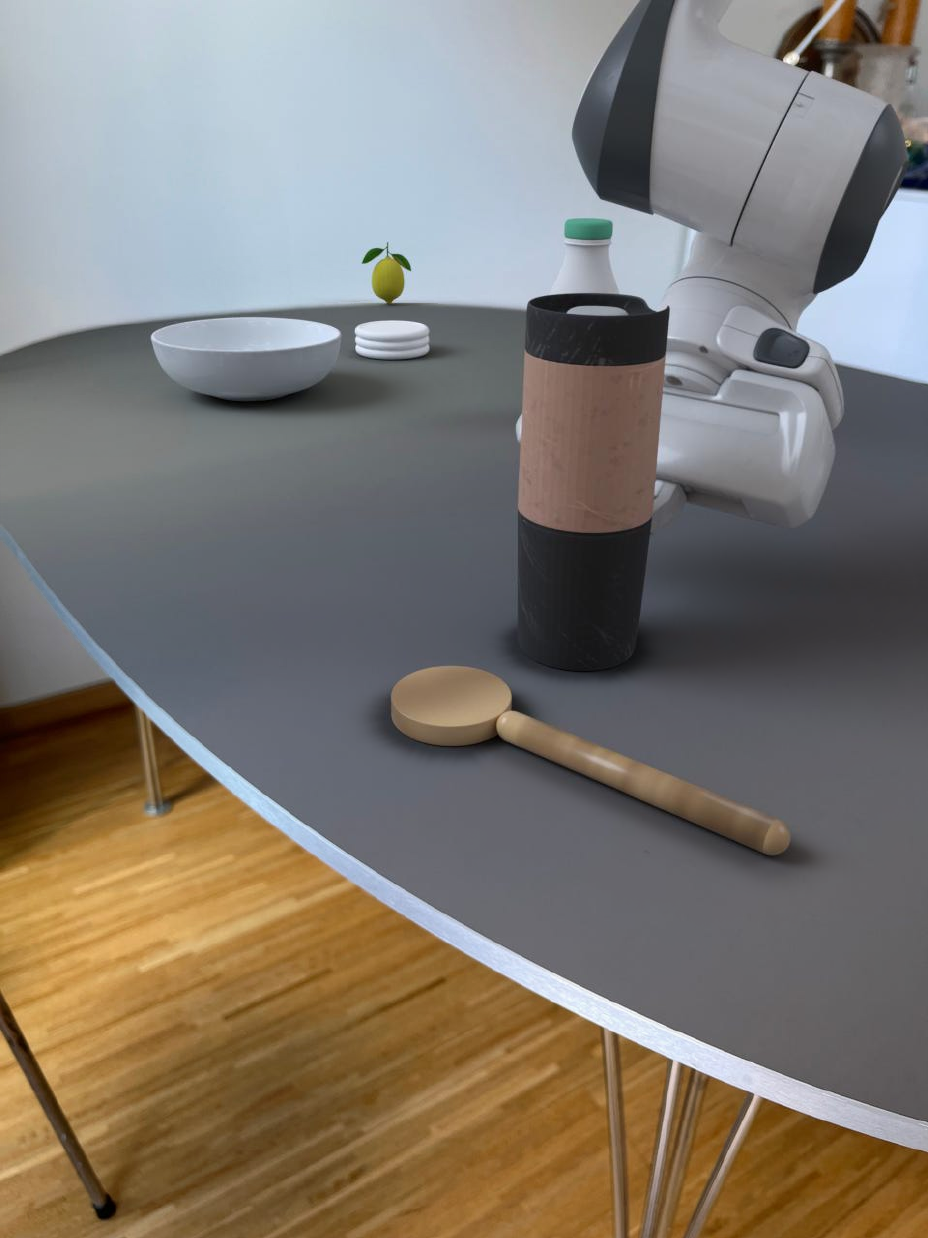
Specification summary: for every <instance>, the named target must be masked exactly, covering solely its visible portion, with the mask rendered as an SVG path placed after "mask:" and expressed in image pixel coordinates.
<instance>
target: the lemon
mask: <svg viewBox="0 0 928 1238" xmlns="http://www.w3.org/2000/svg"><path fill="white" fill-rule="evenodd" d="M385 250H386V256H385V257H384V258H382V259H380V260H379V261H378V262H377V263H376V265H374V268H373V270H372V275H371V287H372V291H373V293H374V294H375V296H376V297H377V298H379V299H381V300H383V301H384V302H385V303H386V304H387V305H391V304H392V303H393V301H395V300H396V299H398V298H399V297H401V295H402V294H403V292H404V289H405V285H406V282H405V280H406V279H405V274H404V270H403V269H405V270H407V271H408V272H412V267H411V264H410V261H409V260H408V259H407V257H405V256H404V254H402V253H401V254H400V253H391V252H390V251H389V241H387V242H386V247H384V248H380V247H374V248H371V249H369V250H368V251H367V252H365V253H366V254H365V255H364V257H363V259H362V262H361V265H365V264H368V263H370V262H372V261H374V260H375V259H376V258H378V257H379V256H380V255H381V254H382V253H383V252H384V251H385ZM389 254H390V255H389Z"/></svg>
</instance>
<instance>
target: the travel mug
mask: <svg viewBox="0 0 928 1238" xmlns="http://www.w3.org/2000/svg"><path fill="white" fill-rule="evenodd" d="M525 312H526V313H525V314H526V315H525V334H524V335H525V336H524V339H525V340H524V361H523V381H522V382H523V383H522V403H521V405H522V406H521V407H522V408H521V414H522V426H521V446H520V451H519V471H518V472H519V474H518V475H519V477H518V495H517V496H518V497H517V498H518V500H517V639H518V645H519V648H520V650H521V651H522V652H523V653H524V654H525V655H526V656H527V657H529V658H530V659H532V660H533V661H535V662H537V663H539V664H541V665H544V666H547V667H550V668H553V669H558V670H563V671H564V670H565V671H573V672H593V671H601V670H607V669H610V668H615V667H617V666H619V665H622V664H623V663H626V662H627V661H628V660H629V659H630V658H631V657H632V656H633V654H634V652H635V650H636V645H637V638H638V631H639V626H640V625H639V624H640V618H641V617H640V616H641V610H642V609H641V608H642V600H643V593H644V585H645V579H646V570H647V563H648V561H647V560H648V554H649V548H650V547H649V545H650V538H651V535H650V531H651V523H652V514H653V504H654V492H655V480H656V468H657V456H658V444H659V432H660V420H661V408H662V396H663V384H664V372H665V360H666V348H667V337H668V325H669V315H670V307H669V306H667V308H666V309H664V310H662V311H658V312H657V311H656V310H654V309H652V308H650V306H649V305H648V304H647V302H646V300H645V299H644V298H642V297H639V296H636V295H632V294H631V295H630V294H622V293H619V294H609V293H566V294H554V295H549V294H547V295H541V296H537V297H534V298H531V299H530V300H529V301H528V302H527V304H526V311H525Z"/></svg>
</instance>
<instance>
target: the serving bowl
mask: <svg viewBox="0 0 928 1238" xmlns="http://www.w3.org/2000/svg"><path fill="white" fill-rule="evenodd" d="M342 336H343V335H342V333H341V331H340V330H339V329H338V328H336V327H335V326H332V325H330V324H326V323H321V322H317V321H311V320H305V319H297V318H285V317H266V316H265V317H264V316H263V317H260V316H245V317H223V318H208V319H207V318H206V319H198V320H192V321H191V320H190V321H185V322H179V323H174V324H171V325H167V326H165V327H164V326H163V327H162V328H159V329H157V330H155V331H153V333H152V334H151V335H150V341H151V345H152V348H153V352H154V354H155V357H156V359H157V361H158V363H159V365H160V367H161V368H162V370H163V371H164V372H165V373H166V374H167V375H168V376H169V378H171V379H172V380H173V381H174V382H175V383H177V384H178V385H180V386H182V387H184V388H186V389H188V390H190V391H193V392H196V393H199V394H203V395H207V396H211V397H215V398H218V399H222V400H226V401H234V402H260V401H270V400H275V399H280V398H283V397H285V396H288V395H290V394H295V393H298V392H300V391H303V390H307V389H309V388H311V387H313V386H315V385H317V384H318V383H320V381H322V380H324V379H325V378H326V377H327V376H328V375H329V374H330V372H331V371H332V370H333V368H334V367H335V365H336V362H337V360H338V358H339V354H340V350H341V343H342V338H343V337H342Z"/></svg>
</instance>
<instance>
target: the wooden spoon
mask: <svg viewBox="0 0 928 1238" xmlns="http://www.w3.org/2000/svg"><path fill="white" fill-rule="evenodd" d="M512 703H513V695H512V691H511V689H510V687H509V685H508V684H507V683H506V681H504V680H503V679H501V678H500V677H499V676H497V675H496V674H493V673H491V672H489V671H486V670H483V669H480V668H477V667H476V668H475V667H470V666H462V665H440V666H432V667H426V668H423V669H420V670H417V671H414V672H412V673H409V674H408V675H406V676H404V677H402V678H401V679H400V680H399V681H397V683H395V684H394V686H393V688H392V689H391V693H390V704H391V705H390V707H391V709H390V711H391V712H390V714H391V720H392V722H393V725H394V726H395V727H396V728H397V730H398V731H399V732H401V733H402V734H404V735H405V736H406V737H409V738H410V739H412V740H415V741H418V742H421V743H424V744H429V745H433V746H440V747H441V746H442V747H461V746H462V747H463V746H470V745H476V744H479V743H482V742H486V741H488V740H490V739H493V738H495V737H497V735H498V737H500V738H501V739H502V740H503V741H504V742H507V743H509V744H512V745H514V746H516V747H518V748H520V749H523V750H526V751H528V752H530V753H532V754H534V755H537V756H539V757H541V758H544V759H547V760H548V761H551V762H553V763H556V764H558V765H560V766H562V767H564V768H567V769H569V770H571V771H573V772H576V773H578V774H581V775H583V776H585V777H588V778H589V779H592V780H595V781H597V782H599V783H601V784H604V785H605V786H608V787H611V788H613V789H615V790H617V791H619V792H622V793H624V794H627V795H628V796H631V797H634V798H635V799H638V800H640V801H642V802H645V803H647V804H649V805H652V806H654V807H656V808H658V809H661V810H663V811H666V812H668V813H670V814H672V815H674V816H677V817H679V818H680V819H681V818H682V819H684V820H685V821H688V822H691V823H693V824H695V825H698V826H700V827H702V828H704V829H707V830H709V831H711V832H713V833H716V834H717V835H720V836H723V837H725V838H727V839H730V840H732V841H734V842H737V843H739V844H741V845H744V846H746V847H748V848H749V849H753V850H754V851H757V852H759V853H761V854H764V855H767V856H777V855H781V854H782V853H784V852H785V851H786V850H787V849H788V847H789V846H790V843H791V839H792V838H791V832H790V828H789V827H788V825H786V824H785V823H784V822H783V821H782V820H780V819H778V818H776V817H774V816H771V815H769V814H766V813H764V812H761V811H759V810H757V809H755V808H752V807H750V806H747V805H745V804H742V803H740V802H737V801H735V800H733V799H730V798H728V797H725V796H724V795H720V794H718V793H715V792H713V791H711V790H708V789H706V788H703V787H701V786H699V785H696V784H694V783H692V782H689V781H686V780H684V779H682V778H679V777H677V776H675V775H672V774H669V773H667V772H665V771H662V770H660V769H657V768H655V767H653V766H650V765H649V764H645V763H643V762H640V761H638V760H636V759H633V758H631V757H628V756H627V755H624V754H621V753H619V752H616V751H614V750H612V749H609V748H606V747H604V746H602V745H600V744H597V743H595V742H592V741H590V740H587V739H584V738H582V737H581V736H577V735H575V734H573V733H570V732H567V731H565V730H562V729H560V728H558V727H556V726H553V725H551V724H549V723H546V722H544V721H541V720H539V719H536V718H534V717H532V716H529V715H526V714H524V713H522V712H519V711H517V710H512V709H513V708H512V707H513V706H512V705H513V704H512Z"/></svg>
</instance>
